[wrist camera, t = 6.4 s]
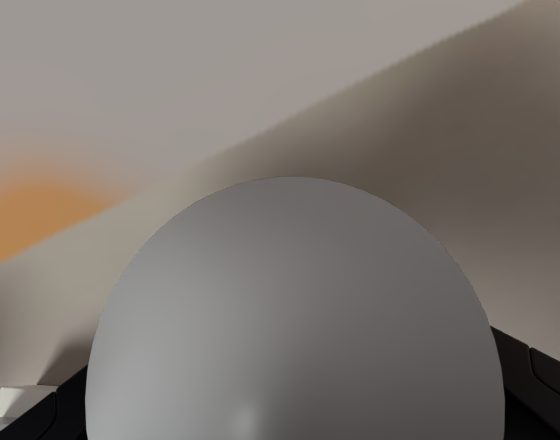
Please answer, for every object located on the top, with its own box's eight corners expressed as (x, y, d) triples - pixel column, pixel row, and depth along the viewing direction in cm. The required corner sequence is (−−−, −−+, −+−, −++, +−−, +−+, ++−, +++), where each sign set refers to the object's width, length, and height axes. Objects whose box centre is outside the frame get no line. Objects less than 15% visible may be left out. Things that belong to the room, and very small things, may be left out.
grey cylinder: (377, 330, 13) (588, 244, 4) (327, 468, 11) (476, 924, 2) (264, 276, 14) (206, 99, 5) (202, 395, 12) (-71, 487, 3)
